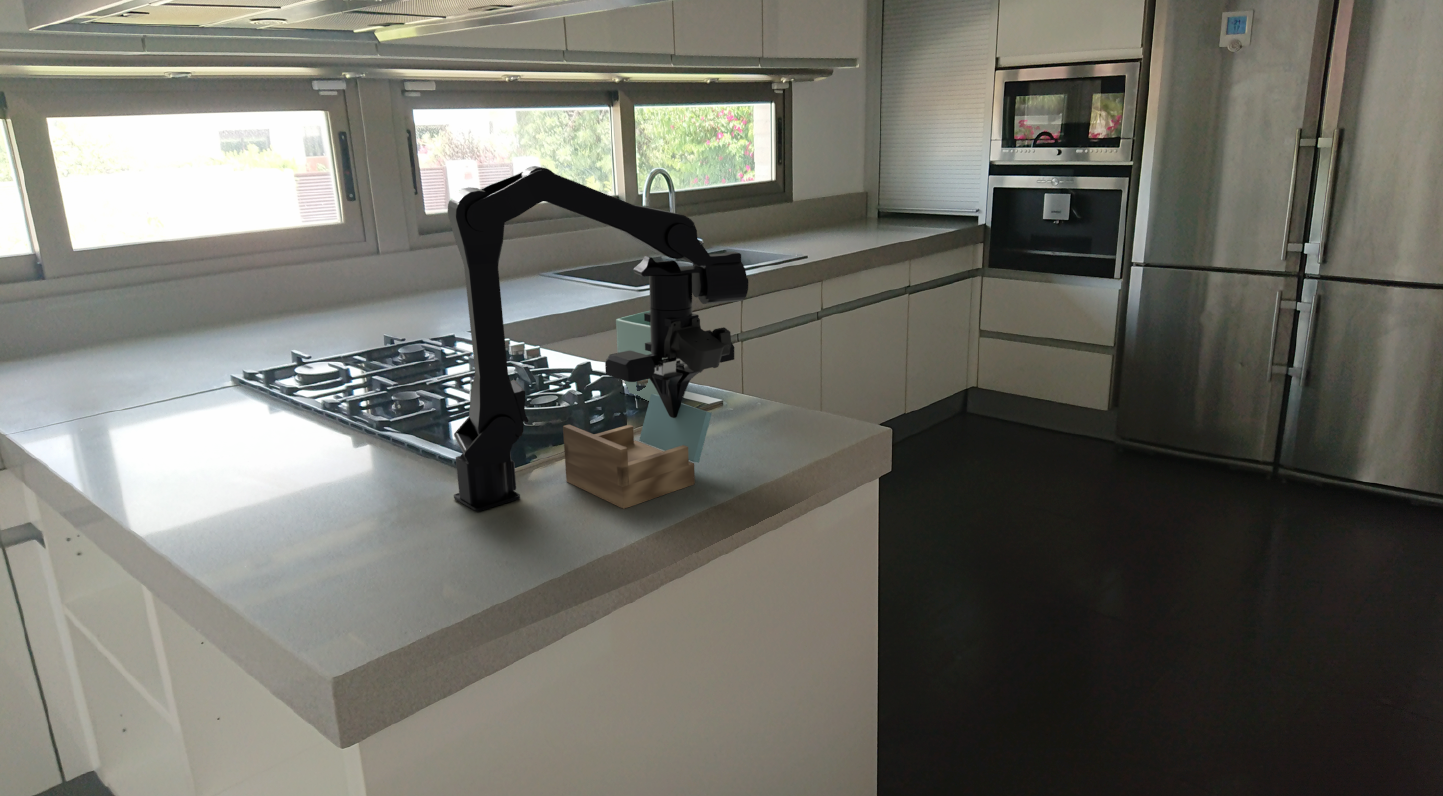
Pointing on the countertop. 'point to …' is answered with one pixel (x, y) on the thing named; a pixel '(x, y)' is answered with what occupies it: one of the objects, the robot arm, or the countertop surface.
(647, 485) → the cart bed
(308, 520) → the countertop surface
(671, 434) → the panel
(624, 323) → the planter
